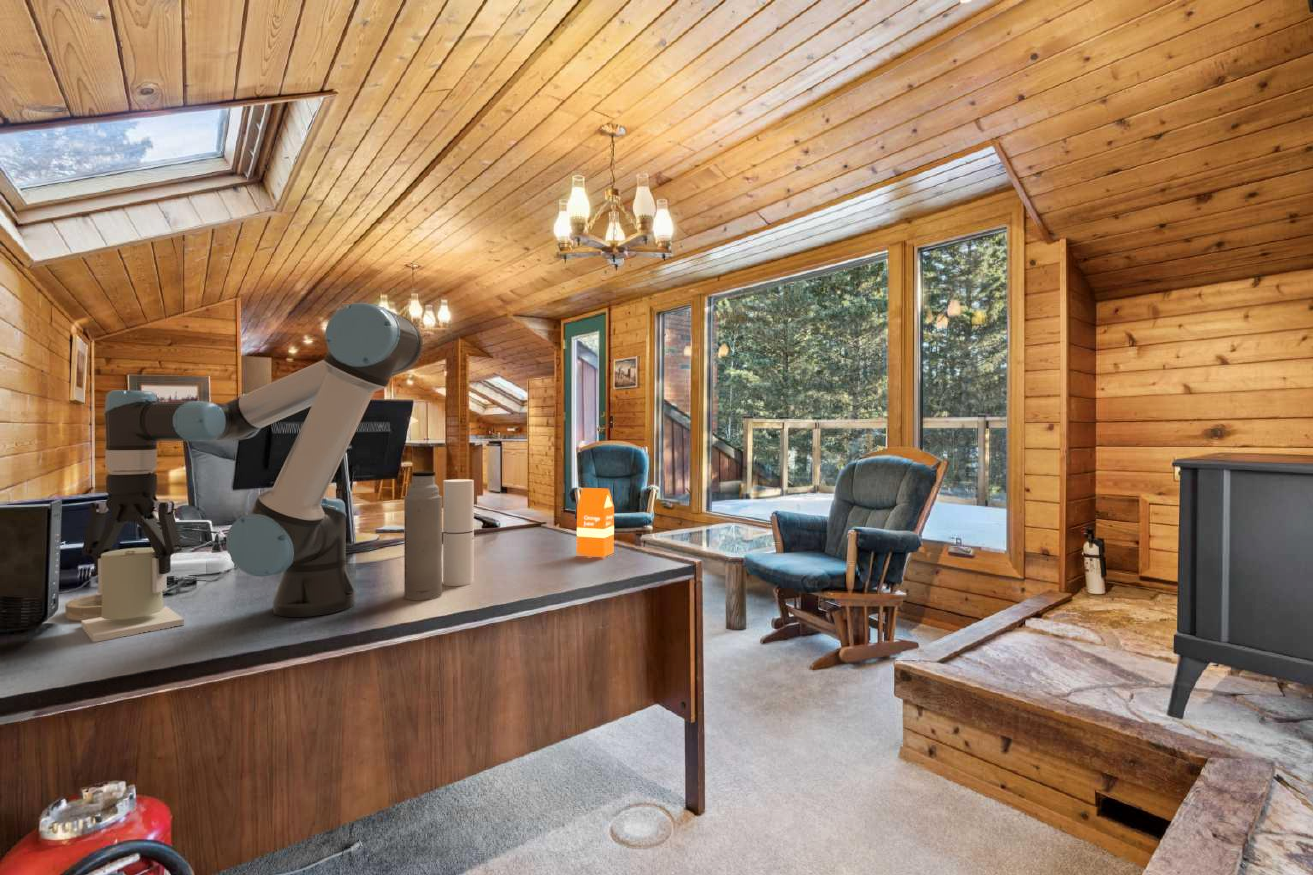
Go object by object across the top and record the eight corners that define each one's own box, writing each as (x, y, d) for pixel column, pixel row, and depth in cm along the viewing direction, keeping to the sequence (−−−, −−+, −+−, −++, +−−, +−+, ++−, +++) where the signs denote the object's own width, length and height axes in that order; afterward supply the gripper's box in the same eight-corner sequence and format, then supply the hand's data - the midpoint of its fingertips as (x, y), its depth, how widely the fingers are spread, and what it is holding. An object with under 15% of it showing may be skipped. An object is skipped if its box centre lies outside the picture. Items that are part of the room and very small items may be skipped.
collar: (158, 611, 131) (158, 599, 131) (72, 626, 121) (72, 612, 121) (141, 597, 141) (141, 586, 141) (61, 610, 131) (61, 598, 131)
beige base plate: (183, 625, 122) (183, 618, 122) (93, 642, 112) (93, 635, 112) (166, 612, 130) (166, 606, 130) (81, 626, 120) (81, 620, 120)
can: (96, 622, 115) (95, 555, 114) (105, 610, 122) (104, 547, 122) (161, 614, 120) (160, 550, 120) (165, 603, 127) (165, 543, 127)
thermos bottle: (399, 600, 140) (399, 472, 139) (410, 591, 148) (410, 470, 147) (436, 600, 141) (437, 472, 140) (445, 590, 148) (445, 470, 148)
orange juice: (587, 551, 196) (587, 486, 196) (614, 553, 193) (614, 487, 193) (576, 556, 189) (576, 488, 189) (603, 558, 186) (604, 489, 186)
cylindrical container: (436, 584, 155) (436, 481, 154) (456, 577, 161) (456, 478, 161) (460, 587, 152) (460, 482, 151) (479, 580, 158) (479, 479, 158)
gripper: (204, 471, 125) (205, 585, 125) (87, 471, 124) (88, 587, 124) (178, 473, 118) (179, 595, 118) (53, 473, 116) (54, 597, 117)
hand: (132, 591), depth 121 cm, fingers closed on can, 9 cm apart
